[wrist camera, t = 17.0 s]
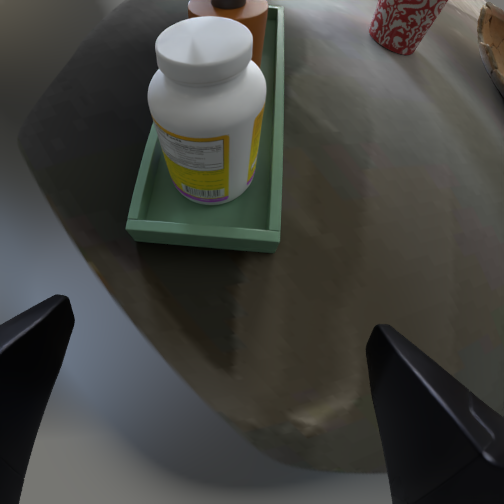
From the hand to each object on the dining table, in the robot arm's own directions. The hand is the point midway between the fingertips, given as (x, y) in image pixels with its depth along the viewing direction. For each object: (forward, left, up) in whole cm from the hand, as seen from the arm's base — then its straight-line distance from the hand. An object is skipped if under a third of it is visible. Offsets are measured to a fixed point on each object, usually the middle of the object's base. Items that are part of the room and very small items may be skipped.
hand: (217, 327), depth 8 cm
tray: (+14, +17, -14) cm, 26 cm away
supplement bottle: (+7, +10, -13) cm, 18 cm away
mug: (+43, +16, -14) cm, 48 cm away
